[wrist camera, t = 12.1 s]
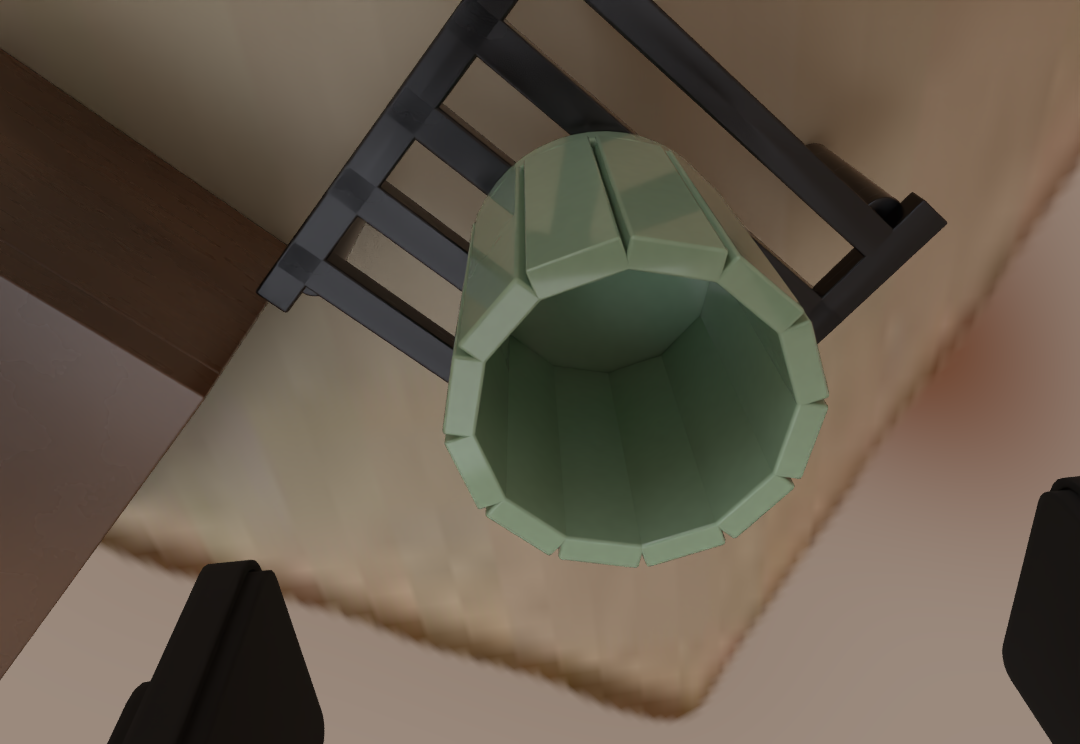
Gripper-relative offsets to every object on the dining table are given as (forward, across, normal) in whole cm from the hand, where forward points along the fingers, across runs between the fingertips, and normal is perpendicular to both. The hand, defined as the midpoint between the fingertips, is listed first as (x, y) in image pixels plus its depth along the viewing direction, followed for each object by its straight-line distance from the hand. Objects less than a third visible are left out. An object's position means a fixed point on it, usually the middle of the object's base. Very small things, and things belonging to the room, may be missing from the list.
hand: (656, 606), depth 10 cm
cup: (+13, 0, +1) cm, 13 cm away
